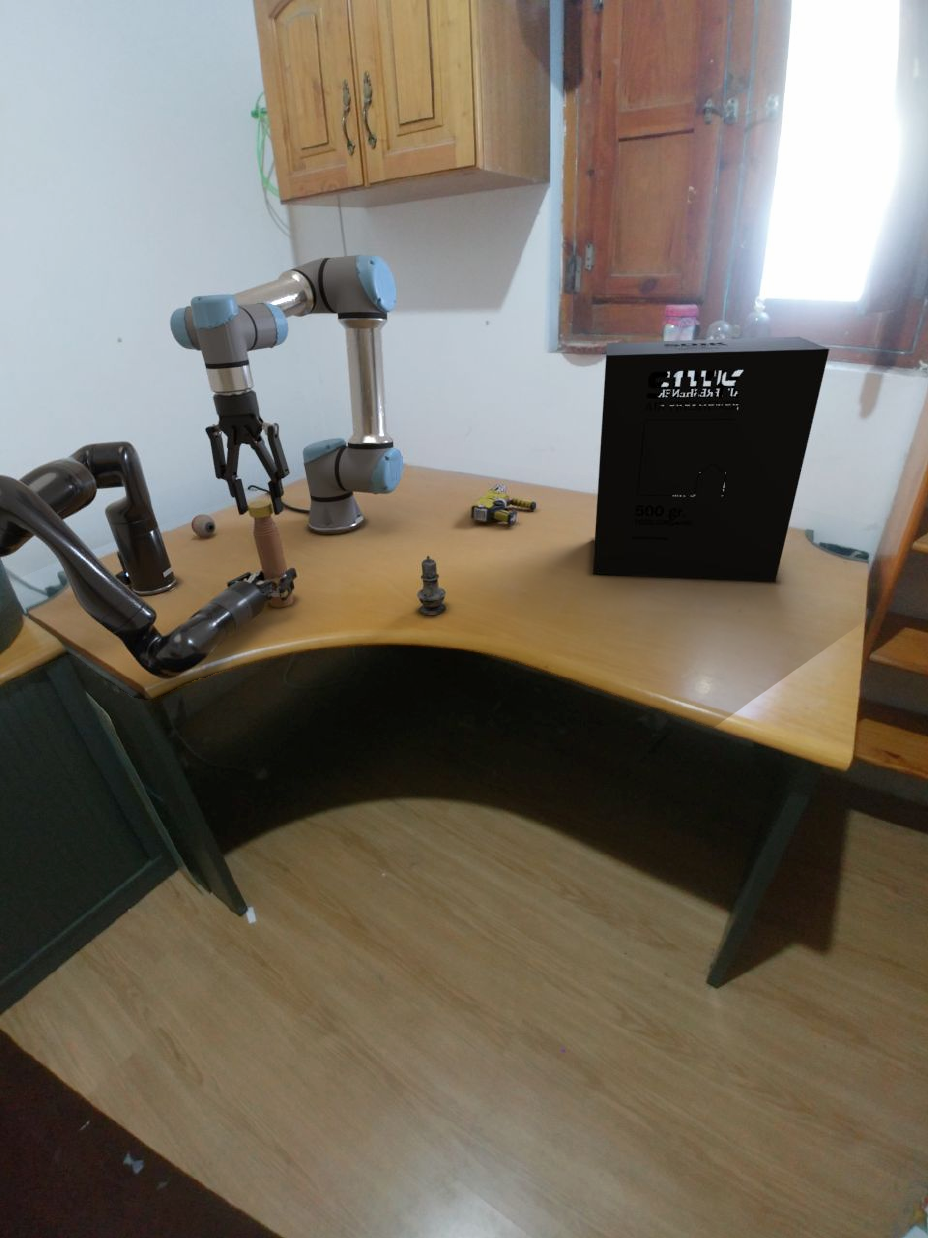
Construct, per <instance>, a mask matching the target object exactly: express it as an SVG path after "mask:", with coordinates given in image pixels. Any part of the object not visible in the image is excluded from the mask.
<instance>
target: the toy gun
mask: <svg viewBox="0 0 928 1238" xmlns="http://www.w3.org/2000/svg"><path fill="white" fill-rule="evenodd" d="M509 506H513V507H517V508H519V507H520V508H521V509H527V510H530V511H535V510H536V509H537V502H536V501H532V500H531V501H529V500H526V499H521V498H517V497H513V498H512V499H510V496H509V495H508V494H507V486H506V485H505V484H502V485H501V484H500V483H497V484H496V485H495V486H493V487H492V488H491V489H489V490H488V491H487V492H486V493H485V494H484V495H483V496H481V498H479V499H478V500H477V501H476V502H475V503H474V504H473V505H471V508H470V518H471V520H473V521H475V522H476V523H483V522H484V523H491V522H495V521H501V522H504V523H507V526H508V527H509V526H510V527H511V526H512V525H514V524H515V523H516V522H517V517H518V510H516V509H513V510H511V511H510V508H508V507H509Z"/></svg>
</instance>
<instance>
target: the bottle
mask: <svg viewBox="0 0 928 1238" xmlns="http://www.w3.org/2000/svg"><path fill="white" fill-rule="evenodd" d="M252 534H253V538H254V543H255V546H256V551H257V555H258V559H259V563H260V567H261V570H262V572H263V576H264V580H267V579H269V578H271V577H275V578H277V577H279V576H281V575H282V574H284V573H285V572H286V571H288V566H287V563H286V558H285V554H284V550H283V549H284V548H283V545H282V540H281V534H280V531H279V528H278V525H277V523H276V522H275V520H274V518H273V517H272V514H271V515H269V516H267V517H262V518H253V526H252ZM272 585H273V582H272ZM279 585H282V581H280V582H279ZM273 589H274V587H273ZM294 601H295V599H294V594H293V592H292V593H291V594H290V596H289V597H288V598H287V600H285V601H282V600H281V598H280V597H274V598H273V599H272V600H269V601H268V602H269V604H270V606H271V607H272V608H279V609H280V608H284V607H288V606H290V605H292V604H293V603H294Z"/></svg>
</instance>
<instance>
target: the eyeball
mask: <svg viewBox="0 0 928 1238" xmlns="http://www.w3.org/2000/svg"><path fill="white" fill-rule="evenodd" d="M191 529H192V531H193V532H194V533H195V534H196V535H197V536H199V537H205V538H206V537H209V536H211V535H212V534H213V533H214V532H215V530H216V522H215V520H214V519H213V518H212V517H211V516H210V515H208V514H198V515H196V516H195V517H194V518H193V519H192V521H191Z"/></svg>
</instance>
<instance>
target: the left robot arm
mask: <svg viewBox="0 0 928 1238" xmlns="http://www.w3.org/2000/svg"><path fill="white" fill-rule="evenodd" d="M115 488H123V489H124V491H125V495H124V496H123V497H121V498H120V499H118V500H115V501H112V502H111V503H110V504H108V505H107V506H106V507H105V508H104V515H105V517H106V520H107V522H108V525H109V528H110V531H111V533H112V536H113V539H114V541H115V544H116V547H117V549H118V550H117V552H116V556H117V559H118V561H119V563H120V564H119V565H120V567H121V569H122V570H121V571H119V572H118V573H116V574H114V573H113V572H112V571H110V570H109V569H108V568H107V567H106V565H104V564H103V563H102V562H101V561H100V560H99V558H98V557H97V555H95V553H93V551H91V549H90V548H89V547H88V546H87V545H86V544H85V542H84V541H83V540H82V539H81V538H80V537H79V536H78V534H77V533H76V532H75V531H74V530H73V529H72V528H71V527H70V526H69V525H68V524H67V523H66V522H65V521H64V520H66V519H67V518H69V517H71V516H73V515H75V514H77V513H79V512H80V511H82V510H84V509H85V508H86V507H89V505H91V504H92V502H93V501H94V500H95V499H96V496H97V493H98V490H105V489H115ZM152 504H153V503H152V499H151V494H150V491H149V489H148V485H147V481H146V477H145V473H144V469H143V466H142V462H141V458H140V456H139V453H138V451H137V450H136V447H134V445H133V444H132V443H131V442H129V441H127V440H126V441H125V440H119V441H106V442H96V443H88V444H86V445H83V446H81V447H80V448H78V449H77V450H75V451H74V452H72V453H71V454H70V455H68V456H67V457H62V458H59V459H55V460H51V461H48V462H47V463H44V464H42V465H39V466H37V467H35V468H33V469H32V470H30V471H28V472H27V473H25V474H24V475H23V476H22V477H20V478H19V479H16V478H14V477H12V476H9V475H5V474H0V558H4V557H8V556H10V555H13V554H14V553H16V552H17V551H19V550H20V549H21V548H22V547H23V546H24V545H26V544H27V543H28V542H29V541H30V540H31V539H32V538H33V537H36V538H37V539H38V540H40V541H41V542H42V543H43V544H45V546H47V548H49V549H50V551H51V552H52V553H53V554H54V555H55V557H56V558H57V560H58V562H59V563H60V565H61V567H62V569H63V571H64V573H65V575H66V577H67V580H68V583H69V585H70V587H71V590H72V592H73V594H74V596H75V599H76V600H77V602H78V604H79V605H80V606H81V608H82V609H83V611H85V613H86V614H87V615H89V616H90V618H92V619H93V620H94V621H95V622H96V623H98V624H100V625H101V626H102V628H104V629H106V631H108V632H110V633H111V634H112V635H114V636H115V637H116V638H118V639H119V640H120V641H121V642H122V644H123V645H124V647H125V648H126V649H127V651H128V652H129V653H130V654H131V656H132V657H133V658H134V659H135V660H136V662H137V663H138V664H139V666H140V667H141V668H142V669H144V671H146V672H147V673H149V674H150V675H152V676H154V677H156V678H159V679H162V680H172V679H175V678H177V677H179V676H181V675H183V674H184V673H186V672H188V671H190V670H191V669H194V668H195V667H197V666H198V665H199V664H201V663H202V662H203V661H205V659H206V658H207V657H209V656H210V655H211V653H213V651H214V650H215V649H216V648H217V647H218V646H220V644H222V643H223V642H224V641H226V640H227V639H228V638H229V637H231V635H233V634H235V633H236V632H238V631H239V630H241V629H242V628H244V627H245V626H246V625H247V624H248V623H250V621H252V620H253V619H255V617H257V616H258V615H260V614H261V613H262V612H263V610H264V608H265V605H266V603H267V602H270V601H269V600H272V599H273V598H274V597H280V598H281V600H282V601H285V600H287V598H288V597H289V596H290V594H291V593H292V594H293V592H294V590H295V588H296V587H295V583H294V580H296V579H297V577H298V574H297V570H296V568H295V567H290V568H289V569H287V571H286V572H285V573H284V574H282V575H281V576H279V577H277V578H275V577H271V578H269V579H267V580H264V576H263V572H262V569H261V570H260V571H255V572H254V573H252V572H251V571H248V572H245V573H243V574H241V575H239V576H237V577H235V578H233V579H230V580H229V581H227V582H226V585H227V588H226V589H224V590H223V591H222V592H220V593H218V594H217V595H216V596H215V597H213V598H212V599H211V600H210V601H209V602H208V603H207V604H206V605H204V606H202V607H201V608H200V609H198V610H197V611H196V612H195V613H193V614H192V615H191V616H190V617H189V618H188V619H187V620H186V621H185V622H183V623H181V624H180V625H179V626H177V627H175V628H174V629H172V630H170V631H169V632H167V633H166V634H164V635H163V634H161V632H160V631H159V629H158V628H157V627H156V626H155V625H154V624H155V623H156V621H157V618H158V615H157V611H156V610H155V608H153V607H152V606H151V605H150V604H149V603H148V602H146V601H145V600H144V599H143V598H141V596H152V595H157V594H160V593H164V592H167V591H168V590H170V589H172V588H173V587H175V586H176V585H177V583H178V582H177V581H178V580H177V577H176V576H175V573H174V569H173V567H172V563H171V561H170V558H169V555H168V551H167V548H166V545H165V543H164V539H163V536H162V533H161V529H160V527H159V524H158V522H157V517H156V514H155V512H154V508H153V505H152ZM280 581H282V585H279V582H280ZM272 582H273V585H272ZM273 587H274V589H273Z"/></svg>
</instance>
